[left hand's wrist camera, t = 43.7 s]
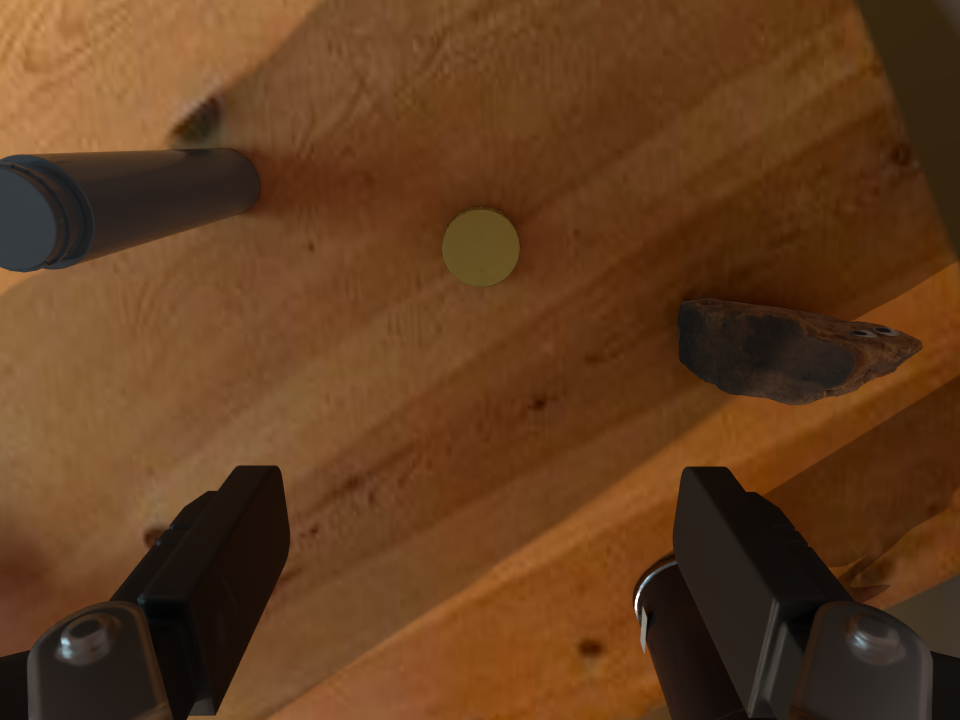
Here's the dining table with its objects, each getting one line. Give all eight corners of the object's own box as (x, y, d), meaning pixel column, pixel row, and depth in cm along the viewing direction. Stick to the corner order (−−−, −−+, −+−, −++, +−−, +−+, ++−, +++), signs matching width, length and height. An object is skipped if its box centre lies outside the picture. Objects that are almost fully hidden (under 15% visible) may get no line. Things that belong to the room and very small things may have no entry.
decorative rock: (843, 295, 41) (962, 346, 31) (818, 373, 43) (922, 445, 33) (676, 282, 40) (742, 330, 30) (660, 362, 42) (716, 431, 32)
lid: (501, 292, 41) (502, 299, 39) (432, 265, 40) (430, 270, 38) (531, 223, 39) (533, 227, 37) (459, 193, 38) (458, 195, 37)
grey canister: (183, 164, 38) (-87, 186, 20) (238, 137, 37) (12, 134, 19) (218, 224, 39) (-4, 296, 21) (272, 199, 38) (91, 251, 21)
